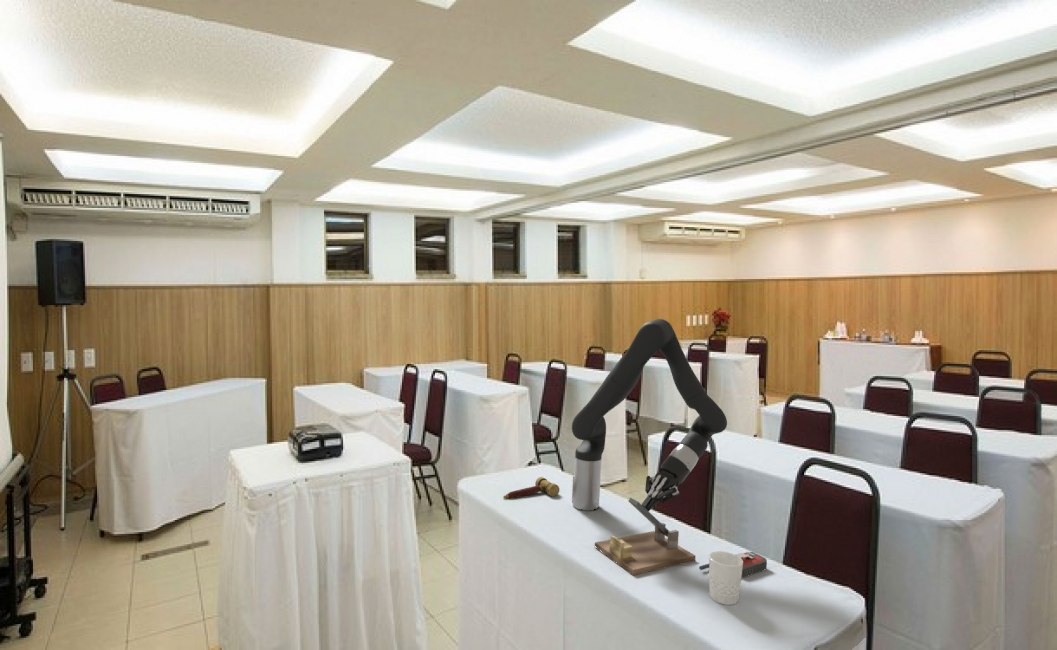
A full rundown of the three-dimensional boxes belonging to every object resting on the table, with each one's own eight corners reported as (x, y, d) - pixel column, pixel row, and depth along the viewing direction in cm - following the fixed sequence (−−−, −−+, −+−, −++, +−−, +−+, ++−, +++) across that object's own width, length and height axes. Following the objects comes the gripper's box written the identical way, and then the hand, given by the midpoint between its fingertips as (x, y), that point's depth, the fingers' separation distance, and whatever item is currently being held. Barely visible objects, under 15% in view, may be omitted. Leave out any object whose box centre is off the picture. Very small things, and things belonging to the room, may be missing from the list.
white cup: (722, 609, 134) (725, 568, 134) (700, 592, 141) (702, 553, 141) (747, 603, 137) (750, 563, 137) (724, 587, 144) (726, 549, 144)
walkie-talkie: (744, 556, 164) (696, 571, 153) (745, 541, 164) (697, 555, 153) (771, 569, 156) (722, 586, 146) (772, 554, 156) (723, 569, 146)
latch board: (594, 547, 165) (595, 525, 164) (653, 535, 175) (654, 515, 175) (633, 575, 149) (634, 551, 148) (695, 560, 159) (696, 538, 159)
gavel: (510, 495, 197) (496, 486, 205) (510, 508, 197) (497, 498, 206) (559, 483, 208) (545, 475, 216) (559, 495, 208) (545, 487, 217)
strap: (627, 502, 160) (631, 496, 161) (662, 534, 167) (665, 529, 167) (635, 506, 157) (639, 501, 157) (670, 539, 164) (674, 534, 164)
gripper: (658, 449, 171) (623, 493, 165) (689, 461, 159) (653, 509, 154) (670, 465, 173) (636, 509, 168) (702, 478, 162) (666, 525, 156)
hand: (644, 509), depth 161 cm, fingers closed
